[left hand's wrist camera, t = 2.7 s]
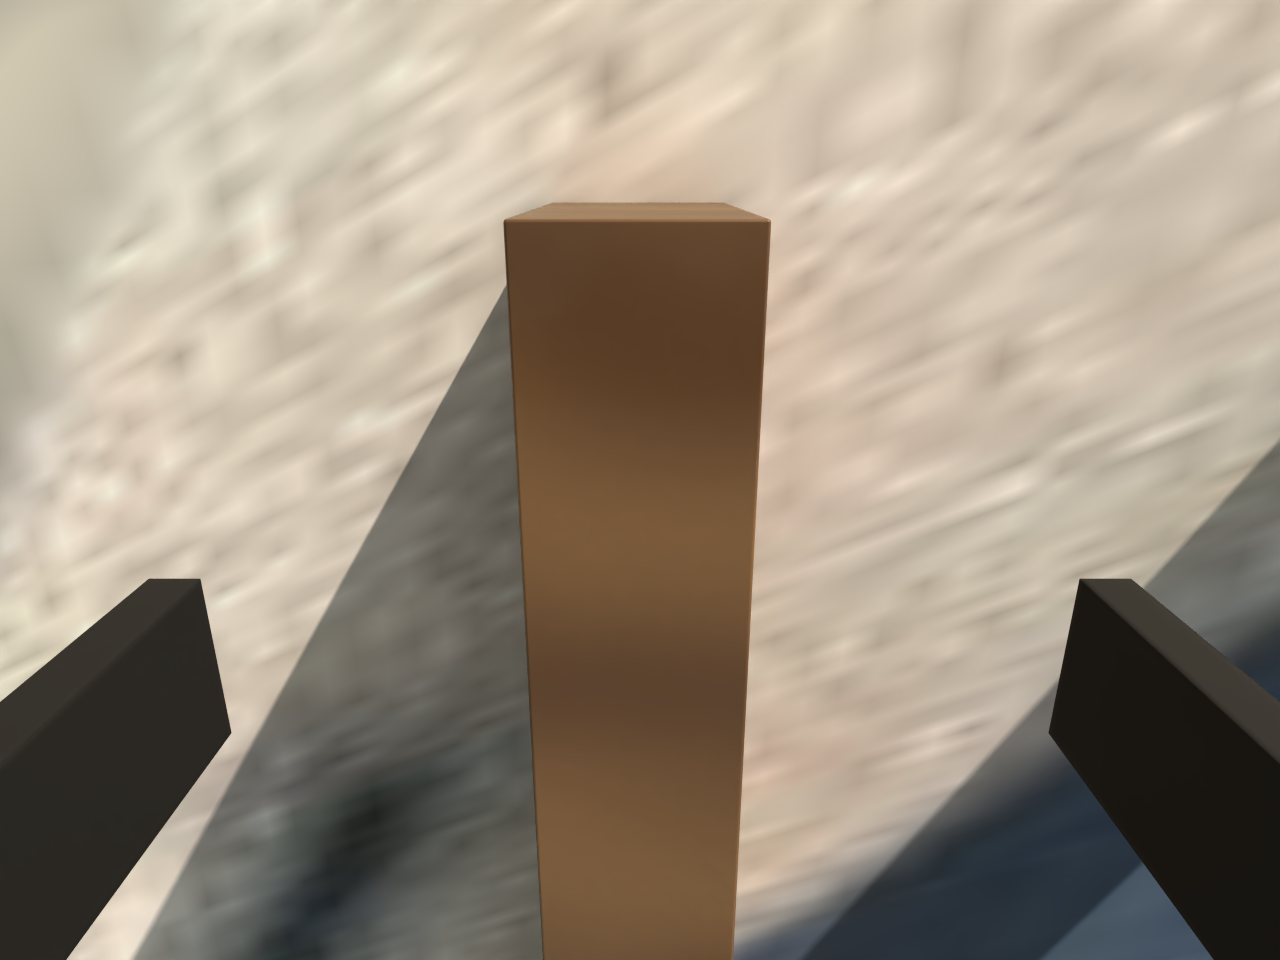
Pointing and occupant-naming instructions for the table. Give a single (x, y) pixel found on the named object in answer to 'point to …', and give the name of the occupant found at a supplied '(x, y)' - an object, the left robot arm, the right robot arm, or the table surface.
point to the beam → (637, 561)
